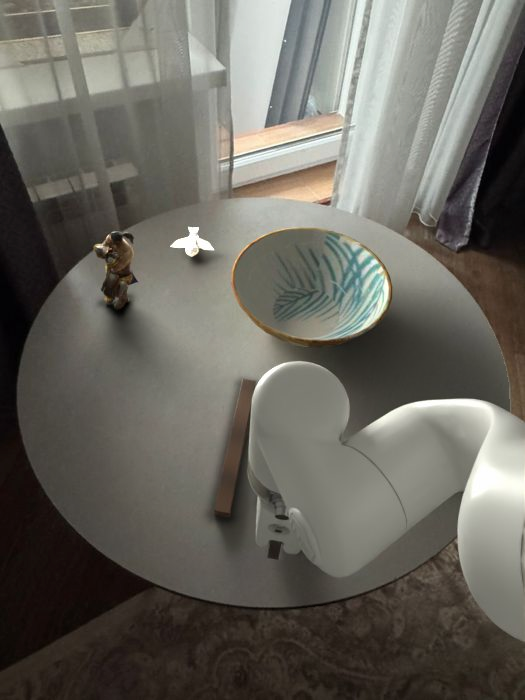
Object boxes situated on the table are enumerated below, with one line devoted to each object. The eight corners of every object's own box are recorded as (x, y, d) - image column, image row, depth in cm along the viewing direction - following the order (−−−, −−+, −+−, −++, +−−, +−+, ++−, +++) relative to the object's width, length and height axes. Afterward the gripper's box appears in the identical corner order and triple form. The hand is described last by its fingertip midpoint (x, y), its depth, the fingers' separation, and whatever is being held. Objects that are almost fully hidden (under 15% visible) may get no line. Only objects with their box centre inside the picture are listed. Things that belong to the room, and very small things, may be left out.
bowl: (255, 248, 94) (257, 213, 87) (389, 279, 91) (401, 245, 84) (209, 351, 79) (207, 317, 73) (368, 392, 76) (380, 361, 69)
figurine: (147, 292, 86) (134, 221, 74) (144, 317, 83) (130, 247, 71) (105, 292, 85) (85, 221, 74) (101, 317, 82) (79, 247, 70)
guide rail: (229, 517, 63) (229, 513, 62) (214, 514, 63) (213, 510, 62) (255, 386, 75) (255, 380, 74) (242, 384, 76) (242, 378, 74)
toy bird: (168, 257, 90) (167, 231, 88) (173, 248, 94) (172, 223, 92) (212, 260, 90) (213, 235, 88) (216, 251, 94) (216, 226, 92)
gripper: (322, 553, 42) (299, 599, 57) (332, 402, 51) (310, 475, 66) (234, 539, 43) (233, 589, 57) (259, 391, 52) (253, 467, 66)
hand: (275, 528), depth 61 cm, fingers closed
